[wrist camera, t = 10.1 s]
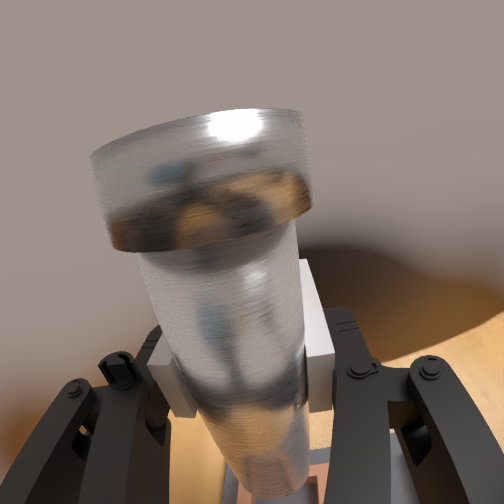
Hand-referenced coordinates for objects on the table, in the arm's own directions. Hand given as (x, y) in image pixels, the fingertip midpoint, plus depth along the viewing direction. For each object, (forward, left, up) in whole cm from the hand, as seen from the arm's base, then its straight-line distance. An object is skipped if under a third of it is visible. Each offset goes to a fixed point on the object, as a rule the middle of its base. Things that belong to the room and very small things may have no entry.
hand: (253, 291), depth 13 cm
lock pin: (0, +5, -9) cm, 10 cm away
